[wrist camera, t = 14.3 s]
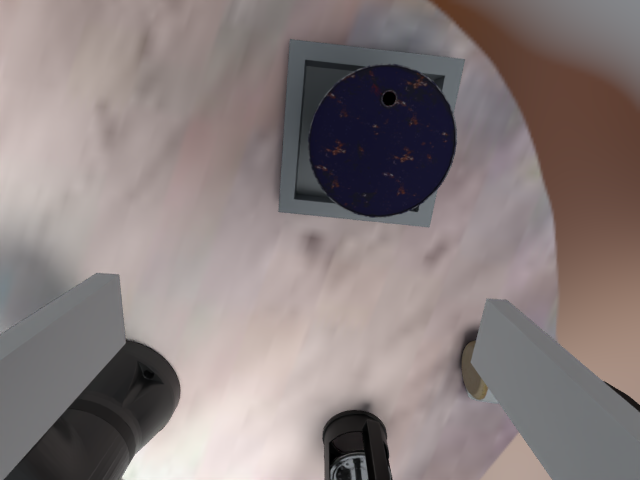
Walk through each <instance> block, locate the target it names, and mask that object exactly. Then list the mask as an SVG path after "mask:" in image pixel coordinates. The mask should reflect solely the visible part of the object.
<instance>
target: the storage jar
mask: <svg viewBox="0 0 640 480" xmlns="http://www.w3.org/2000/svg"><path fill="white" fill-rule="evenodd" d="M456 143H457V129H456V123H455V117H454V114H453V111H452V108H451V106H450V104H449V102H448V100H447V98H446V96H445V95H444V93H443V92H442V91H441V89H440V88H439V87H438V86H437V85H436V84H435V83H434V82H433V81H432V80H431V79H430V78H429V77H427V76H425V75H424V74H422V73H421V72H419V71H417V70H415V69H412V68H410V67H407V66H402V65H398V64H376V65H369V66H366V67H363V68H360V69H357V70H355V71H354V72H352V73H350V74H348V75H346V76H345V77H343V78H342V79H341V80H339V81H338V82H337V83H335V85H334V86H333V87H332V88H331V89H330V90H329V91H328V92H327V93H326V94H325V96H324V97H323V99H322V100H321V101H320V103H319V105H318V107H317V109H316V111H315V113H314V115H313V118H312V121H311V125H310V129H309V135H308V154H309V161H310V165H311V168H312V172H313V174H314V176H315V178H316V180H317V183H318V184H319V186H320V187H321V189H322V190H323V191H324V193H325V194H326V195H327V196H328V197H329V198H330V199H331V200H332V201H333V202H335V203H336V204H337V205H338V206H340V207H341V208H343V209H345V210H347V211H349V212H351V213H354V214H357V215H360V216H365V217H370V218H385V217H393V216H396V215H400V214H403V213H406V212H408V211H410V210H412V209H414V208H416V207H417V206H419V205H421V204H422V203H424V202H425V201H426V200H427V199H428V198H429V197H431V196H432V195H433V194H434V193H435V191H436V190H437V189H438V188H439V187H440V185H441V184H442V182H443V181H444V179H445V178H446V176H447V174H448V172H449V170H450V168H451V166H452V162H453V159H454V156H455V150H456Z"/></svg>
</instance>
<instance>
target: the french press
mask: <svg viewBox="0 0 640 480" xmlns="http://www.w3.org/2000/svg"><path fill="white" fill-rule="evenodd" d="M350 432H362V436H363V444H364V450H355V451H350V452H346V453H343V452H341V451H339V450H338V449H337V448H336V447H335V446H334V445H333V443H332V441H333V440H334V439H336V438H337V437H339V436H341V435H343V434H346V433H350ZM323 443H324V459H325V480H392V475H391V470H390V465H389V460H388V459H389V450H388V445H387V433H386V429H385V426H384V424H383V423H382V422H381V420H380V419H378V418H377V417H376V416H374V415H373V414H371V413H368V412H364V411H357V410H352V411H346V412H342V413H340V414H338V415H336V416H334V417H333V418H331V419H330V420H329V421H328V423H327V424H326V426H325V427H324V430H323Z"/></svg>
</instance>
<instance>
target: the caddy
mask: <svg viewBox="0 0 640 480" xmlns="http://www.w3.org/2000/svg"><path fill="white" fill-rule="evenodd" d="M464 61H465V59H458V58H450V57H441V56H432V55H423V54H415V53H406V52H397V51H388V50H380V49H371V48H362V47H354V46H345V45H336V44H327V43H319V42H310V41H301V40H292V39H290V46H289V61H288V76H287V91H286V106H285V121H284V136H283V151H282V166H281V181H280V196H279V211H278V212H284V213H294V214H303V215H313V216H323V217H333V218H343V219H352V220H362V221H372V222H382V223H392V224H402V225H411V226H421V227H430V222H431V218H432V213H433V208H434V203H435V199H436V194H437V190H436V191H435V193H434V194H433V195H432V196H431V197H429V198H428V199H427V200H426V201H425V202H424V203H422V204H421V205H419V206H417V207H416V208H414V209H412V210H410V211H408V212H406V213H403V214H400V215H396V216H393V217H385V218H370V217H365V216H360V215H357V214H354V213H351V212H349V211H347V210H345V209H343V208H341V207H340V206H338V205H337V204H336V203H335V202H333V201H332V200H331V199H330V198H329V197H328V196H327V195H326V194H325V193H324V191H323V190H322V189H321V187H320V186H319V184H318V183H317V180H316V178H315V176H314V174H313V172H312V168H311V165H310V161H309V154H308V135H309V129H310V125H311V121H312V118H313V115H314V113H315V111H316V109H317V107H318V105H319V103H320V101H321V100H322V99H323V97H324V96H325V94H326V93H327V92H328V91H329V90H330V89H331V88H332V87H333V86H334V85H335V83H337V82H338V81H339V80H341V79H342V78H343V77H345V76H346V75H348V74H350V73H352V72H354V71H355V70H357V69H360V68H363V67H366V66H369V65H376V64H398V65H402V66H407V67H410V68H412V69H415V70H417V71H419V72H421V73H422V74H424V75H425V76H427V77H429V78H430V79H431V80H432V81H433V82H434V83H435V84H436V85H437V86H438V87H439V88H440V89H441V91H442V92H443V93H444V95H445V96H446V98H447V100H448V102H449V104H450V106H451V108H452V111H453V114H454V109H455V104H456V99H457V95H458V90H459V85H460V80H461V76H462V71H463V66H464Z"/></svg>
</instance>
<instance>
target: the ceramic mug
mask: <svg viewBox="0 0 640 480" xmlns="http://www.w3.org/2000/svg"><path fill="white" fill-rule="evenodd" d="M475 343H476V340H475V341H471V342H470V343H468V344H467V346H466V347H465V349H464V351H463V355H462V376H463V380H464V383H465V387H466V391H467V394H468V396H469V397H470V398H471V399H473V400H476V401H481V402H489V403H497V404H499V403H498V401H497V400H496V398H495V397H494V395H493V394H492V393H491V391H490V390H489V388H488V387H487V385H486V384H485V383H484V381H483V380H482V378H481V377H480V375H479V374H478V372H477V371H476V370H475V368H474V367H473V365H472V364H471V359H472V355H473V351H474V347H475Z"/></svg>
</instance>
